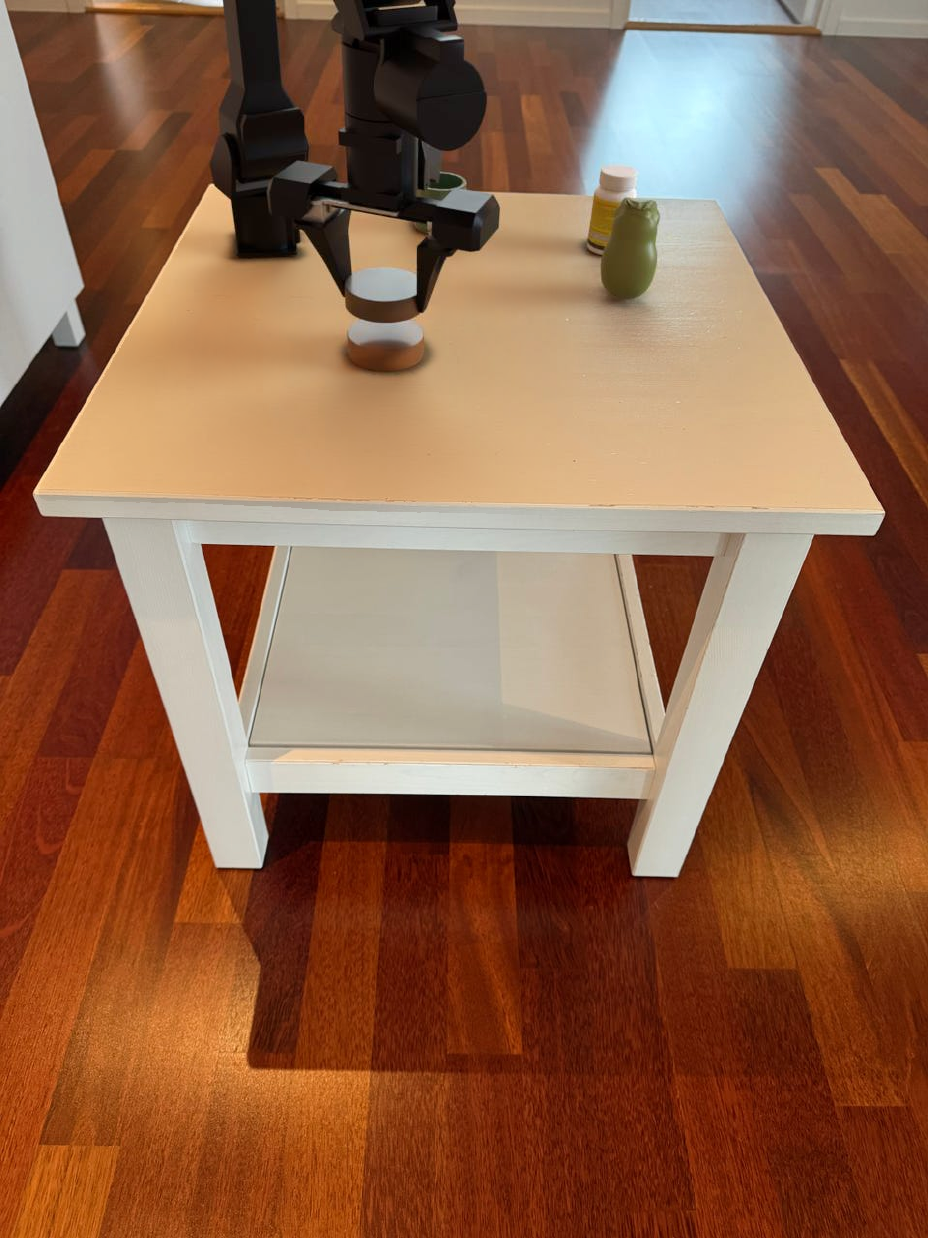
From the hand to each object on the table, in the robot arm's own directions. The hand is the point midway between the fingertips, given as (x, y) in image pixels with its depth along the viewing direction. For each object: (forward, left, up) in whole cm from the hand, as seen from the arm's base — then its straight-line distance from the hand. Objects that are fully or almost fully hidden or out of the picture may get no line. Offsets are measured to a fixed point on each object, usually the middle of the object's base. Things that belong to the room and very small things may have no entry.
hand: (384, 303), depth 82 cm
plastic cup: (+10, +29, -5) cm, 31 cm away
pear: (+26, +9, -5) cm, 28 cm away
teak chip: (0, 0, -5) cm, 5 cm away
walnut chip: (0, 0, 0) cm, 0 cm away
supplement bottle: (+28, +21, -5) cm, 35 cm away
